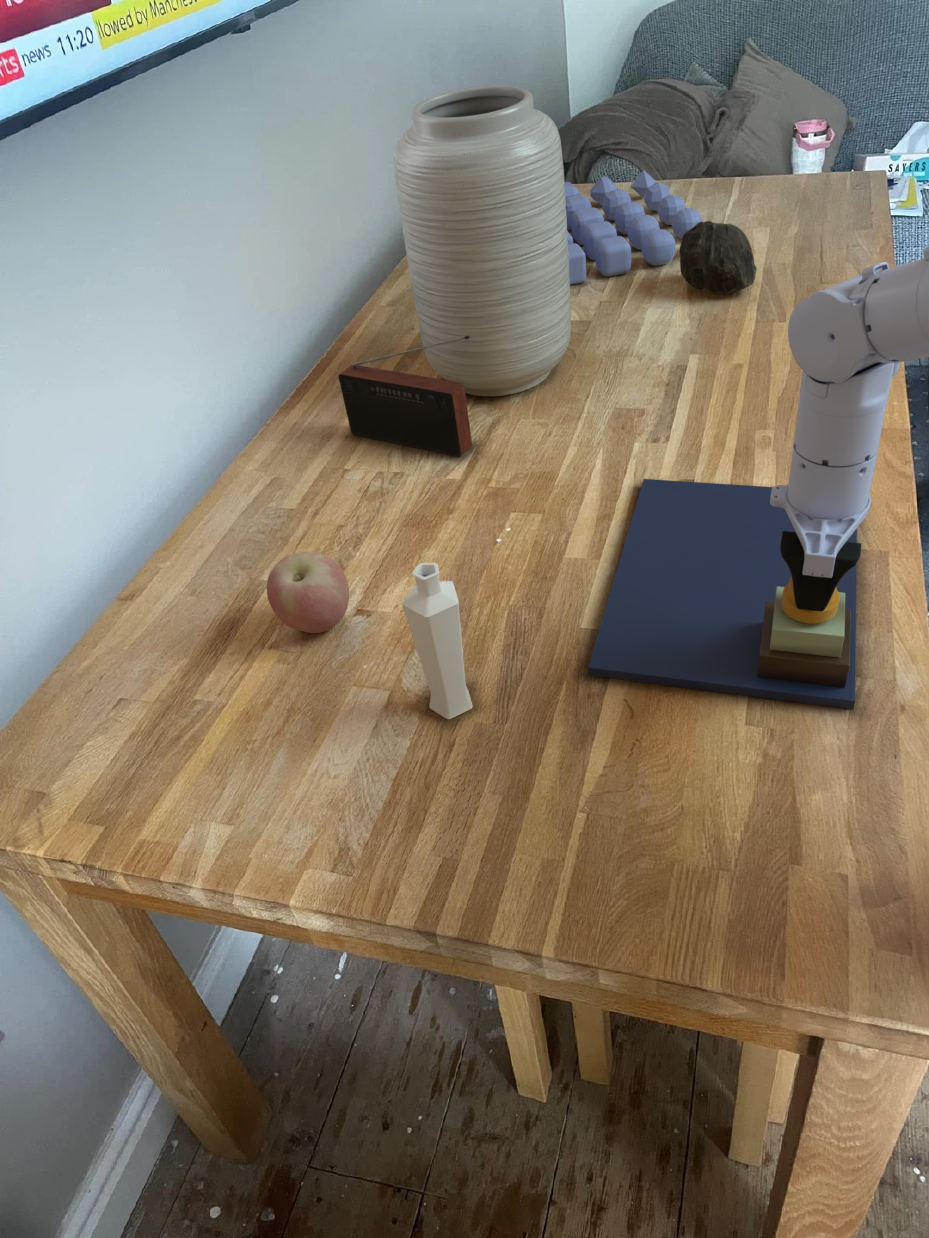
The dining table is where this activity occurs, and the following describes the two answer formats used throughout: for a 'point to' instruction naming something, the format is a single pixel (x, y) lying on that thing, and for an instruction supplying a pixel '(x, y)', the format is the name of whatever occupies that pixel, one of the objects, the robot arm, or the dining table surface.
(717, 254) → the rock
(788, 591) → the cone
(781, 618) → the block stack
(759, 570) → the board
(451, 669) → the perfume bottle
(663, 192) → the blocks
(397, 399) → the radio
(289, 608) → the apple
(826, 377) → the robot arm
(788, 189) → the dining table surface
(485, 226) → the vase
